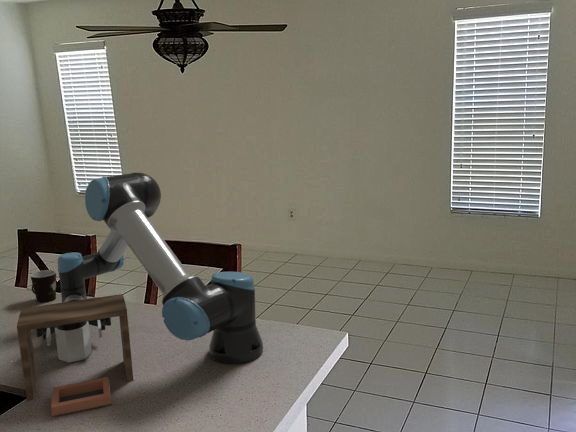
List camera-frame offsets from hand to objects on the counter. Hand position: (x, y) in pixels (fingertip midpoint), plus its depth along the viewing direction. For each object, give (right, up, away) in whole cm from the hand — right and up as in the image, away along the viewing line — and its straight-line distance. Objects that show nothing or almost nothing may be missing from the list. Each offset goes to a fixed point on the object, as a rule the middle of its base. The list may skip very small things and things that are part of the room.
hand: (74, 337), depth 152 cm
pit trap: (+10, -11, -20) cm, 25 cm away
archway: (+6, -9, -10) cm, 14 cm away
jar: (-1, -6, +4) cm, 7 cm away
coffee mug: (-30, +3, +47) cm, 56 cm away
